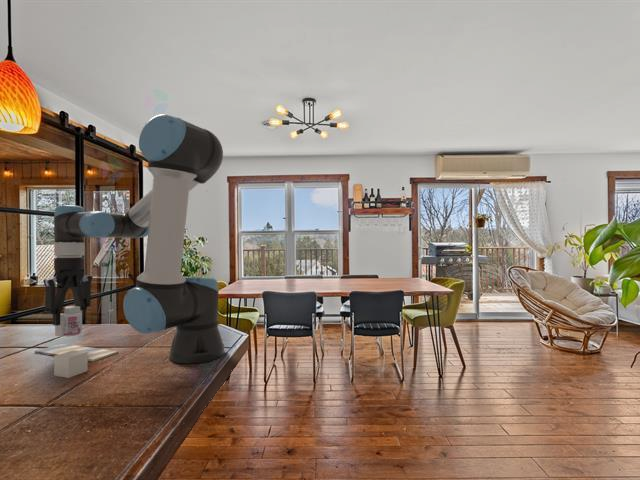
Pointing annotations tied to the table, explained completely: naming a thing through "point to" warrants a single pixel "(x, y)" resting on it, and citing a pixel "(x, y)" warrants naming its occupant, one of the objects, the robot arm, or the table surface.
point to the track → (93, 353)
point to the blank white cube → (70, 363)
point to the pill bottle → (72, 321)
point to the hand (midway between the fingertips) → (68, 333)
